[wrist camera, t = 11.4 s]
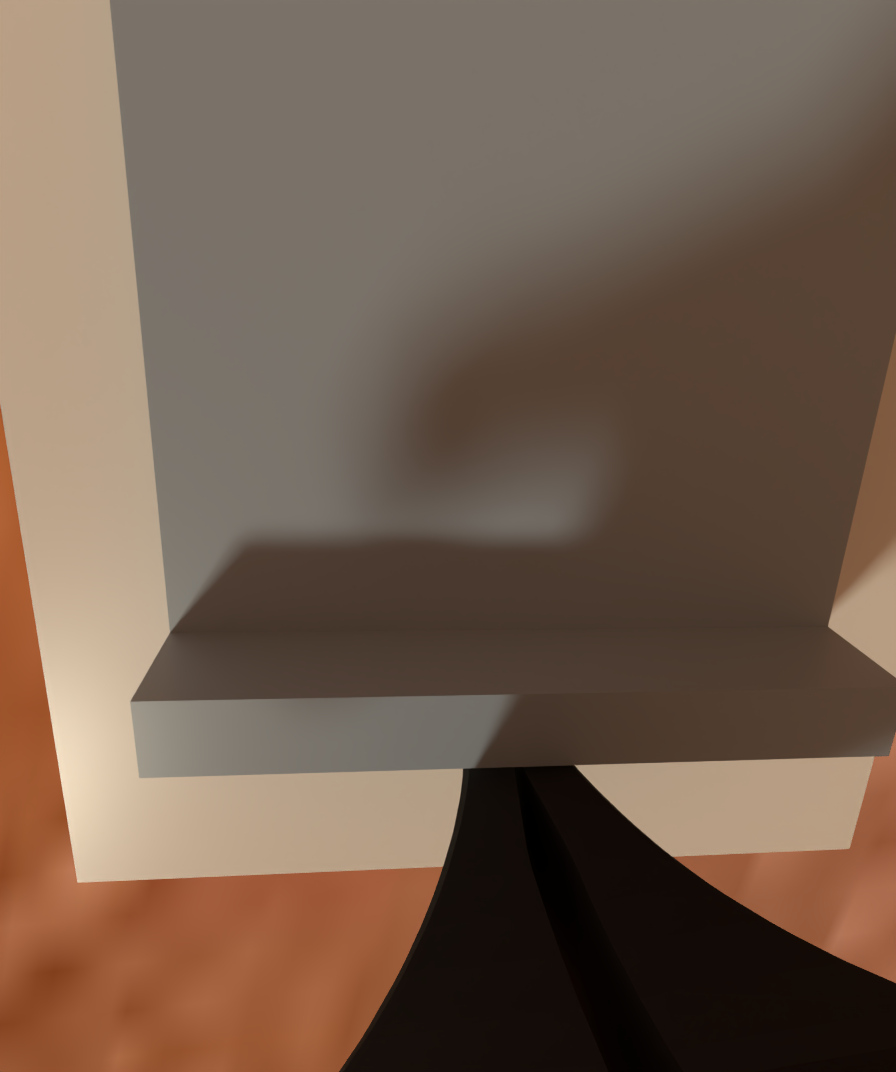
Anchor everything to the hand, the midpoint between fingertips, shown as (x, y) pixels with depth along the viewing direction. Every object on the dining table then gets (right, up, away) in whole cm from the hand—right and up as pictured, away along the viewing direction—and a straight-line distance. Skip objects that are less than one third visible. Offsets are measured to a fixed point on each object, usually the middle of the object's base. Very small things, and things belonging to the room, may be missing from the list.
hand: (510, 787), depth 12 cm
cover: (0, +7, -1) cm, 7 cm away
